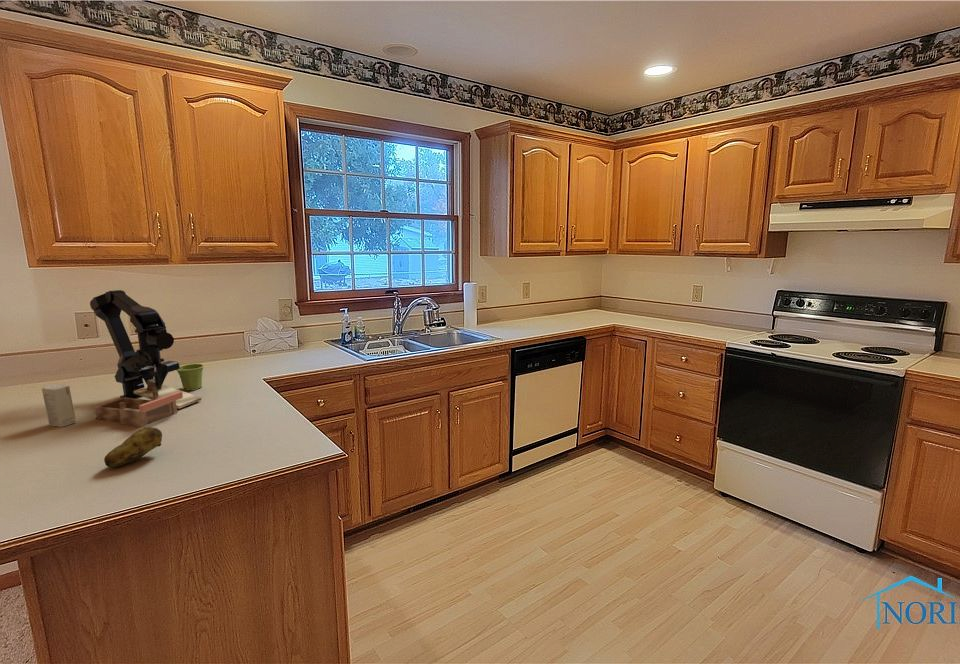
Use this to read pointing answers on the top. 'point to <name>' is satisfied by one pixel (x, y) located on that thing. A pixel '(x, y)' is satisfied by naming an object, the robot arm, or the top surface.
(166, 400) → the bar
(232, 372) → the top surface
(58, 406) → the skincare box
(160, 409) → the toolbox
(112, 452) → the potato
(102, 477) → the top surface
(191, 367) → the plant pot
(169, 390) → the lid
